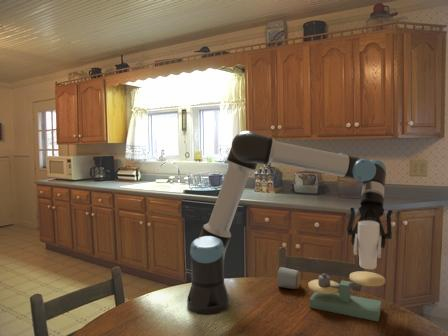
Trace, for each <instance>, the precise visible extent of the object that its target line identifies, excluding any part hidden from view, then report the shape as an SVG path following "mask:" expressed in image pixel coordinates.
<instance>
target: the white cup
mask: <svg viewBox="0 0 448 336" xmlns="http://www.w3.org/2000/svg"><path fill="white" fill-rule="evenodd" d="M358 221H359V220H358ZM358 221H357V222H358ZM379 236H381V235H380V224H379V223H378V222H376V221H373V220H366V221H359V222H358V247H357V248H358V257H359V259H358V260H359V263H358V264H359V266H360V268H362V269H364V270H375V269H376V268H377V263H378V262H377V259H378V242H379Z"/></svg>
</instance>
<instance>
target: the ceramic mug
mask: <svg viewBox="0 0 448 336" xmlns="http://www.w3.org/2000/svg"><path fill="white" fill-rule="evenodd" d="M276 282H277V283H276V284H277V285H276V286H277V287H278V288H284V289H292V290H297V289H299V287H300V285H301V272H300V271H299V270H296V269H291V268H288V267H282V266H279V269H278V272H277V278H276Z"/></svg>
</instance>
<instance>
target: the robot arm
mask: <svg viewBox="0 0 448 336" xmlns="http://www.w3.org/2000/svg"><path fill="white" fill-rule="evenodd" d="M226 163H227V164H228V168H227V170H226V173H225V175H224V178H223V181H222V184H221V187H220V190H219V192H218V195H217V198H216V200H215V203H214V207H213V209H212V212H211V215H210V217H209V221H208V222H207V223H205V224H203V226H202V228H201V232H200V234H199V236H198V238H195V239H194V240H193V241H192V242H191V243H190V249H189V252H190V274H191V275H190V276H191V286H190V289H189V292H188V295H187V298H186V300H187V301H186V303H187V309H188V310H189V311H190V312H193V313H194V314H198V315H214V314H218V313H222V312H224V311H226V310H227V309H228V308H229V307H230V295H229V294H228V290H227V286H226V285H225V284H226V283H225V268H224V267H225V266H224V265H225V256H226V251H227V248H228V245H229V243H230V240H231V237H232V234H231V232H230V230H231V229H230V228H231V226H232V223H233V221H234V217H235V216H236V211H237V209H238V207H239V204H240V202H241V198H242V196H243V193H244V190H245V188H246V184H247V182H248V179H249V177H250V174H251V173H253V172H254V171H256V169H257V166H258V164H260V165H261V164H262V165H265V166H269V165H270V164H277V165H281V166H286V167H290V168H296V169H300V170H301V169H302V170H307V171H312V172H317V173H322V174H326V175H332V176H337V177H341V178H346V179H351V180H356V181H357V182H361V183H362V188H361V196H360V205H359V207H358V208H353V207H351V208H349V209H350V217H349V220H348V223H347V228H346V232H347V235H348V236H351V240H350V241H351V244H352V245H353V255H354V256H357V254H358V248H359V247H358V222H359V221H374V222H378V223H379V224H380V235H379V242H378V254H377V259H381V258H382V257H381V256H382V249H385V248H386V240H388V239H389V240H391V239H393V236H392V235H393V234H392V218H393V211H392V210H391V209H390V210H386V209H385V208H384V202H385V201H384V200H385V199H384V198H385V188H386V187H385V184H386V176H387V167H386V164H385V163H384V162H383V160H382V161H381V160H380V159H379V160H378V159H376V160H375V159H368V158H365V157H364V158H362V157H357V156H352V155H349V154H346V153H344V152H339V153H338V152H337V153H336V152H331V151H325V150H321V149H316V148H312V147H306V146H301V145H296V144H291V143H286V142H282V141H277V140H275V138H274V137H271V136H268V135H267V136H266V135H263V134H260V133H258V132H255V131H253V130H244V131H240V132H238V133H237V134H236V135H235V136H234V138H233V139H232V142H231V146H230V150H229V153H228V156H227V159H226ZM358 213H359V214H360V217H359V220H358V221H357V223H356V225H355V221H356V216H357V215H358ZM383 215H384V217H385V218H386V229H387V233H386V232H385V229H384V227H383V224H382V221H381V217H382V216H383ZM354 225H355V226H354Z"/></svg>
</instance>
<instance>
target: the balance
mask: <svg viewBox="0 0 448 336" xmlns="http://www.w3.org/2000/svg"><path fill="white" fill-rule="evenodd" d="M349 280H350V281H348V280H342V279H341V280H340V283H338V282H336V281H334V280H331V276H330V275H328V274H327V273H325V272H324V273H322V274H320V275H318V278H317V279H312V280H310V281H309V282H308V285H307V286H308V289H309V290H310V291H312V292H313V293H312V295H311V297H309V308H312V309H315V310H322V311H326V312H331V313H334V314H340V315H343V316H350V317H355V318H360V319H365V320H369V321H374V322H375V321H376V322H379V321H380V315H381V311H382V300H378V299H372V298H366V297H361V296H356V295H351V291H352V289H351V288H356V287H362V286H364V287H380V286H384V284H386V278H385V277H384V276H383V275H381V274H379V273H375V272H373V271H365V270H362V271H361V270H360V271H353V272H350V274H349Z"/></svg>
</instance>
